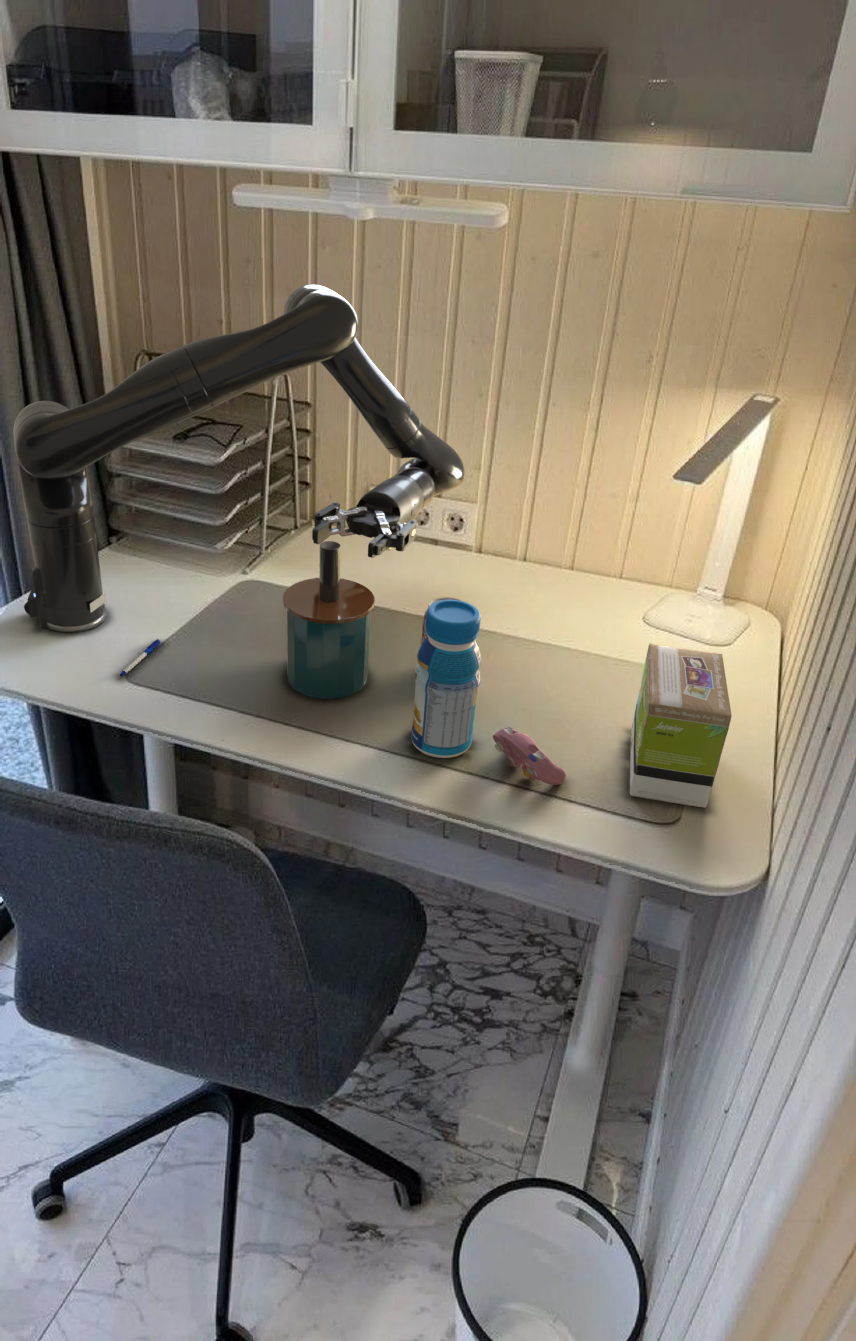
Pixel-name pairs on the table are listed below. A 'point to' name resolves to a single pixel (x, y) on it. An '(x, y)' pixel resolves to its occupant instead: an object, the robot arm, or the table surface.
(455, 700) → the beverage bottle
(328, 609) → the jug lid
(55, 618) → the robot arm
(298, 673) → the teal cup
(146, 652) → the ballpoint pen
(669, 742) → the tea box
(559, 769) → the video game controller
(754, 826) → the table surface
